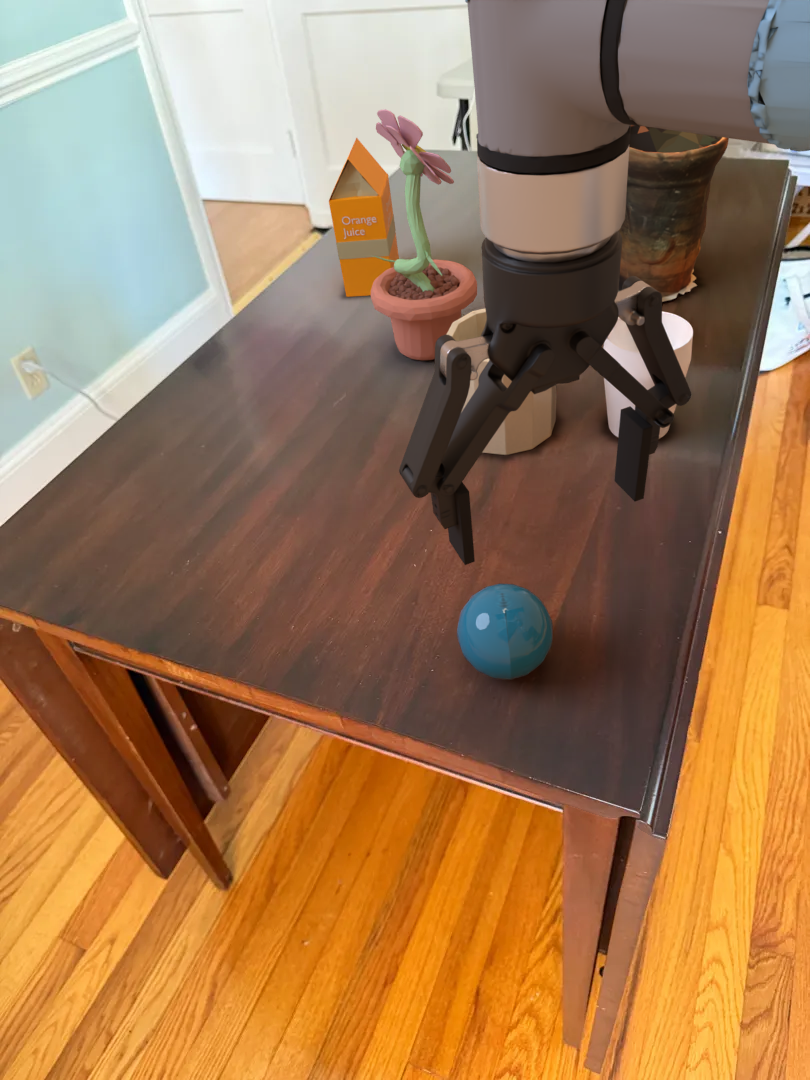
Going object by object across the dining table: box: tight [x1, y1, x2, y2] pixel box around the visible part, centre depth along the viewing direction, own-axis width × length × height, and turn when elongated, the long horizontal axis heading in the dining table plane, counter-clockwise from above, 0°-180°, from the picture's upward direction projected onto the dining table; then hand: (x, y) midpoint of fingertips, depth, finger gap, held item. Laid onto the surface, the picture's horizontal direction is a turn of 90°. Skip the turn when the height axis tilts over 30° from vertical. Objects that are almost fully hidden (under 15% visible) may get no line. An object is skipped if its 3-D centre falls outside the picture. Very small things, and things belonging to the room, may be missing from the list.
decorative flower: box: [370, 108, 478, 361], centre depth 96 cm, size 15×14×30 cm
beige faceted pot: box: [446, 307, 557, 456], centre depth 88 cm, size 12×12×12 cm
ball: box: [456, 582, 554, 681], centre depth 65 cm, size 8×8×8 cm
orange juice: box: [328, 137, 400, 298], centre depth 116 cm, size 8×9×20 cm
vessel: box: [618, 125, 730, 303], centre depth 105 cm, size 14×14×20 cm
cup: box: [602, 310, 694, 439], centre depth 85 cm, size 9×9×12 cm
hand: (547, 520), depth 57 cm, fingers open, 13 cm apart
